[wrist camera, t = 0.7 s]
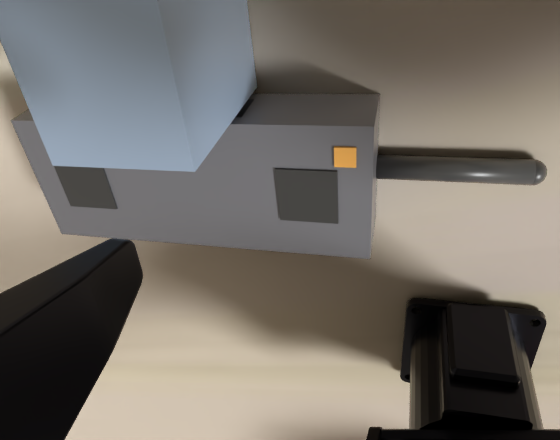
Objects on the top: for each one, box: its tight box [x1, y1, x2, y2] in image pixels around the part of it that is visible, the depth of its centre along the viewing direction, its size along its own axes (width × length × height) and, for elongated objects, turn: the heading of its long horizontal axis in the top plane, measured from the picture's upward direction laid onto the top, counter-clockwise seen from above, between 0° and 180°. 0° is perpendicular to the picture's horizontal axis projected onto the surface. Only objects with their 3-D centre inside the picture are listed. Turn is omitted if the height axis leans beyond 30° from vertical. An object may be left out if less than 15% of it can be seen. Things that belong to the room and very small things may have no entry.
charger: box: [0, 0, 257, 172], centre depth 17 cm, size 8×5×7 cm, turn 5°
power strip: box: [11, 94, 547, 259], centre depth 20 cm, size 6×22×3 cm, turn 95°
